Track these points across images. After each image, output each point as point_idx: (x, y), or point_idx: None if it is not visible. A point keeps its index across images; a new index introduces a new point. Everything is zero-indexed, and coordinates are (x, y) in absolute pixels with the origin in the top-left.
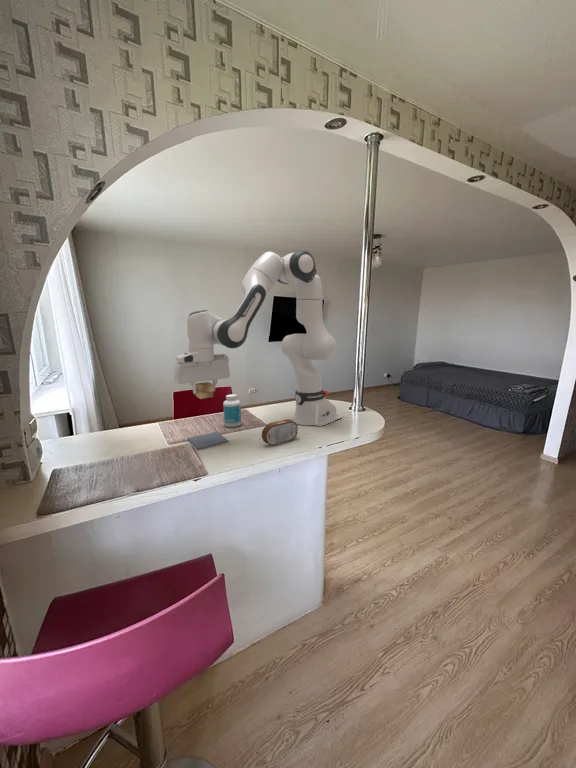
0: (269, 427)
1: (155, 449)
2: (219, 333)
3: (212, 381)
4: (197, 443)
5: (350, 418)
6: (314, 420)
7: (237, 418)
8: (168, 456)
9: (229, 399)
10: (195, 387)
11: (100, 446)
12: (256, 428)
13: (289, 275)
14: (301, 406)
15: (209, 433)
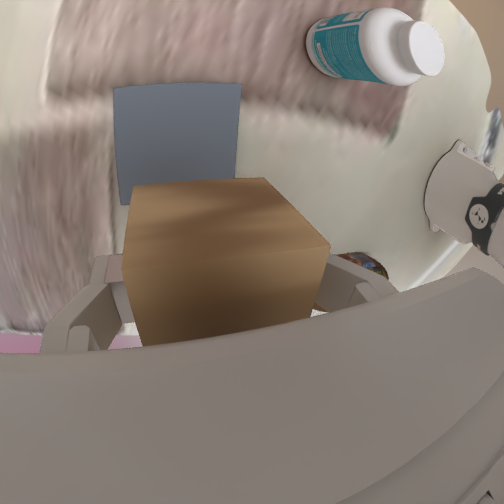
0: (320, 310)
1: (8, 130)
2: None
3: (351, 297)
4: (129, 163)
5: None
6: (438, 225)
7: (354, 79)
8: (37, 207)
9: (401, 56)
10: (126, 242)
11: None
12: (361, 136)
13: None
14: (462, 216)
15: (208, 83)
